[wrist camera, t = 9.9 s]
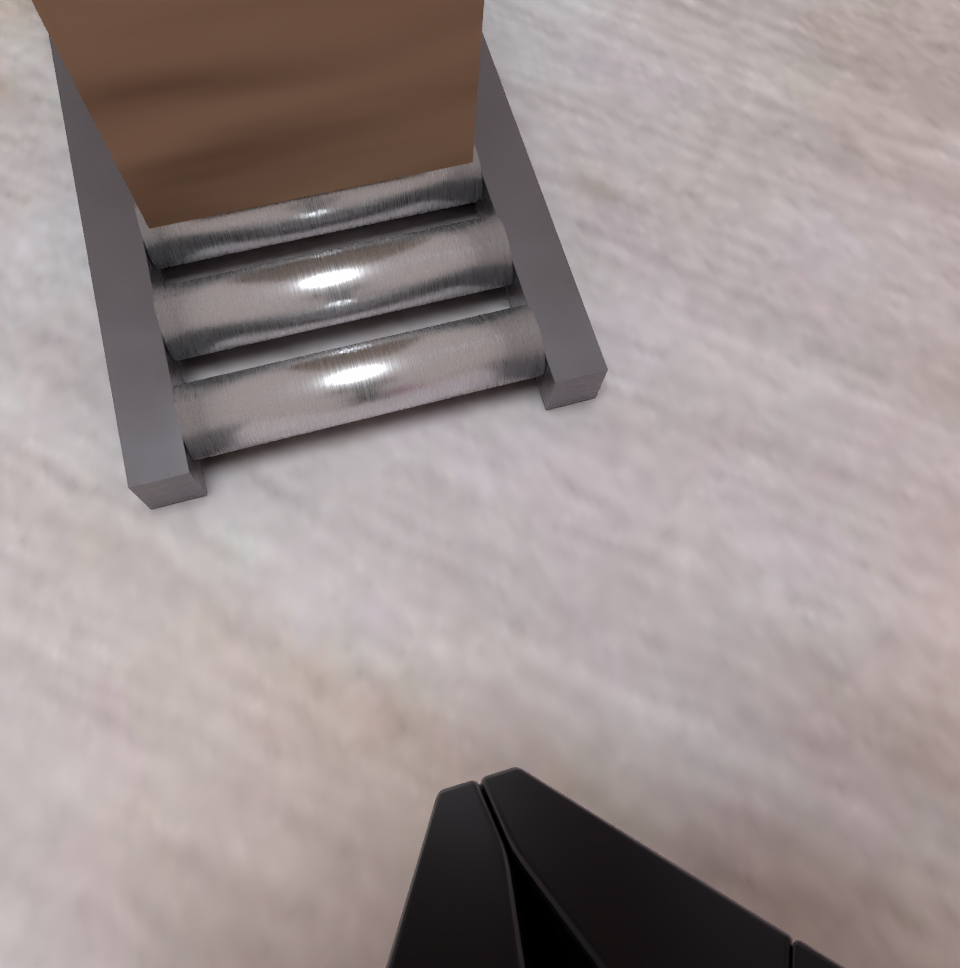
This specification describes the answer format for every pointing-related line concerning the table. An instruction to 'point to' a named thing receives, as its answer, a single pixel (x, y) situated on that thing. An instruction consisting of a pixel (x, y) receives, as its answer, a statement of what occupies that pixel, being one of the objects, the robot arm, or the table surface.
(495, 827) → the robot arm
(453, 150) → the brown cardboard box
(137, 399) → the roller bed
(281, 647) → the table surface
